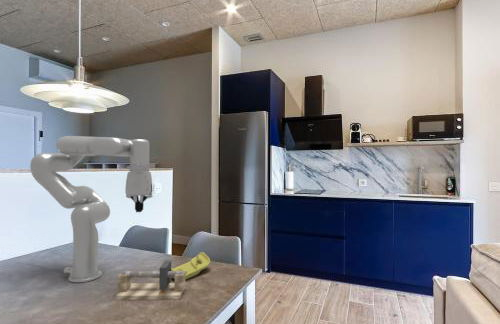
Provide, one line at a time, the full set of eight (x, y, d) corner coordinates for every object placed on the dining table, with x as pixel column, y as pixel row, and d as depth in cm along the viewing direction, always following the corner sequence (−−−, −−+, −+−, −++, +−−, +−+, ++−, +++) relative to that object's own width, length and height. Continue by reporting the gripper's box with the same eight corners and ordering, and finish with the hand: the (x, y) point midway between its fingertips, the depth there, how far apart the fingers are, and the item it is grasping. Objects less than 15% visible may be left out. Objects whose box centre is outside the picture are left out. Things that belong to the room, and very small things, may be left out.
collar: (159, 289, 107) (159, 267, 107) (164, 280, 115) (165, 260, 115) (165, 289, 107) (166, 267, 107) (171, 280, 115) (171, 260, 115)
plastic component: (179, 278, 119) (166, 263, 125) (175, 291, 122) (162, 276, 127) (214, 262, 135) (200, 249, 140) (209, 274, 137) (196, 261, 143)
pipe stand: (114, 299, 105) (114, 276, 105) (126, 287, 116) (126, 266, 116) (181, 299, 105) (181, 276, 106) (186, 286, 116) (186, 266, 117)
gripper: (118, 168, 119) (117, 213, 118) (154, 168, 119) (154, 213, 119) (125, 168, 126) (124, 210, 126) (159, 168, 127) (159, 210, 126)
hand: (139, 211), depth 122 cm, fingers closed
